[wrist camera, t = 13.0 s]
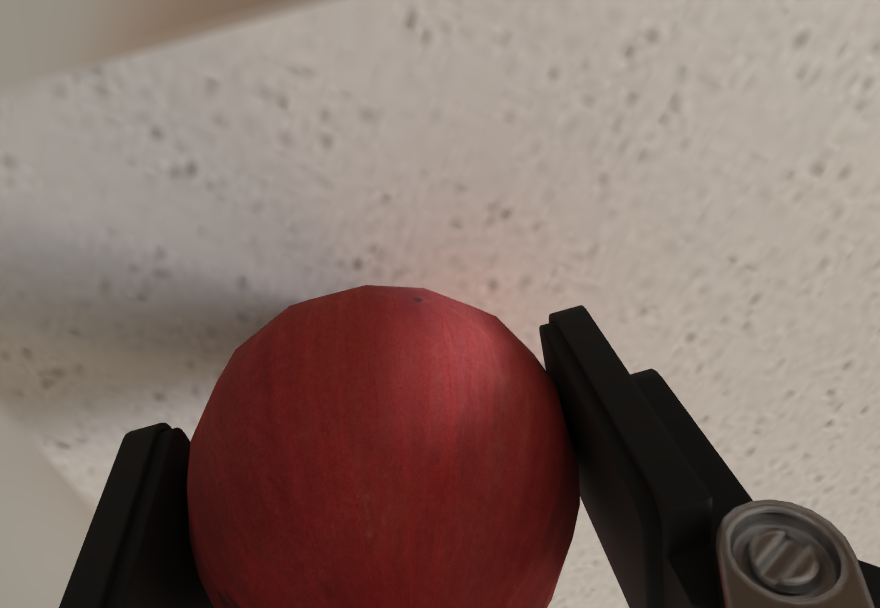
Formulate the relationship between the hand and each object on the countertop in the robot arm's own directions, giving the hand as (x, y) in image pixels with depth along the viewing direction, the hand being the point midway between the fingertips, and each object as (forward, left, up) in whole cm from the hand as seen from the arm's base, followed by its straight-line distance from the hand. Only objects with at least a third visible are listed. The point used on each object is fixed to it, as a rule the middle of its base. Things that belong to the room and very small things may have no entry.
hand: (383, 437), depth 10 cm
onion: (0, 0, -3) cm, 3 cm away
